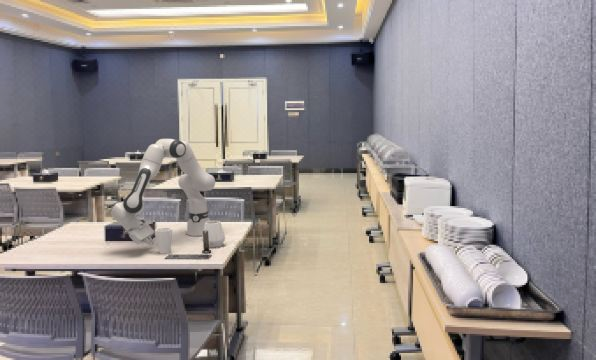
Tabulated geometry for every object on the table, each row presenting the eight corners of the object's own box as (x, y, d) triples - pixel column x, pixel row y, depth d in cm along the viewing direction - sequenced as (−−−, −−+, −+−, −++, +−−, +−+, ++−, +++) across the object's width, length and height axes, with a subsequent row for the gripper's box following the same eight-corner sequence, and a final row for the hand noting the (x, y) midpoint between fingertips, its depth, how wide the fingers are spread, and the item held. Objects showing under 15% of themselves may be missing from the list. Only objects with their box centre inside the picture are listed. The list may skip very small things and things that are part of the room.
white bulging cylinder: (229, 243, 308) (228, 220, 307) (219, 249, 296) (218, 224, 294) (208, 242, 312) (207, 219, 310) (198, 248, 299) (197, 224, 298)
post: (203, 251, 292) (202, 230, 290) (212, 251, 291) (211, 230, 290) (200, 253, 287) (199, 232, 285) (209, 253, 286) (208, 232, 285)
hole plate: (169, 255, 285) (169, 254, 285) (212, 255, 282) (212, 254, 282) (164, 259, 278) (164, 257, 278) (208, 259, 275) (208, 257, 275)
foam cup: (159, 255, 285) (158, 232, 284) (153, 252, 293) (152, 229, 291) (176, 252, 291) (174, 229, 289) (169, 249, 298) (168, 226, 297)
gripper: (129, 227, 281) (148, 244, 282) (145, 219, 302) (162, 235, 302) (122, 235, 283) (141, 252, 283) (138, 226, 303) (155, 243, 303)
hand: (152, 243), depth 292 cm, fingers closed
